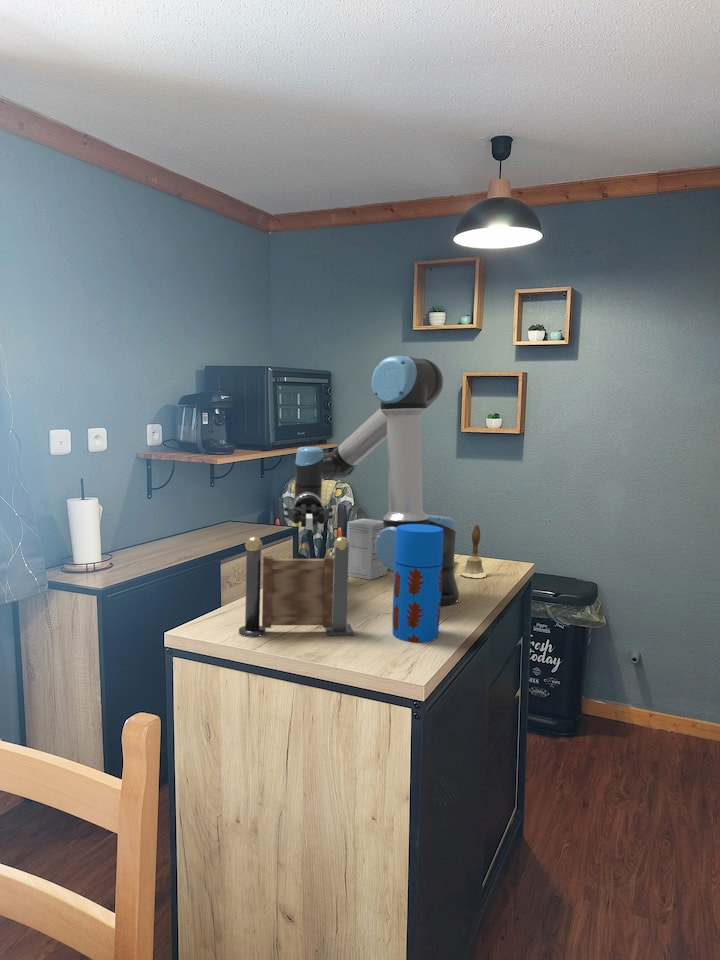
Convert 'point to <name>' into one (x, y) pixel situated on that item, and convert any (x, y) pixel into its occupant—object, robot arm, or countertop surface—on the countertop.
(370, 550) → the supplement box
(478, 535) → the hand bell
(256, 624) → the hinge post
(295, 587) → the walnut gate
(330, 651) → the countertop surface
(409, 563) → the thermos
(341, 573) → the post
